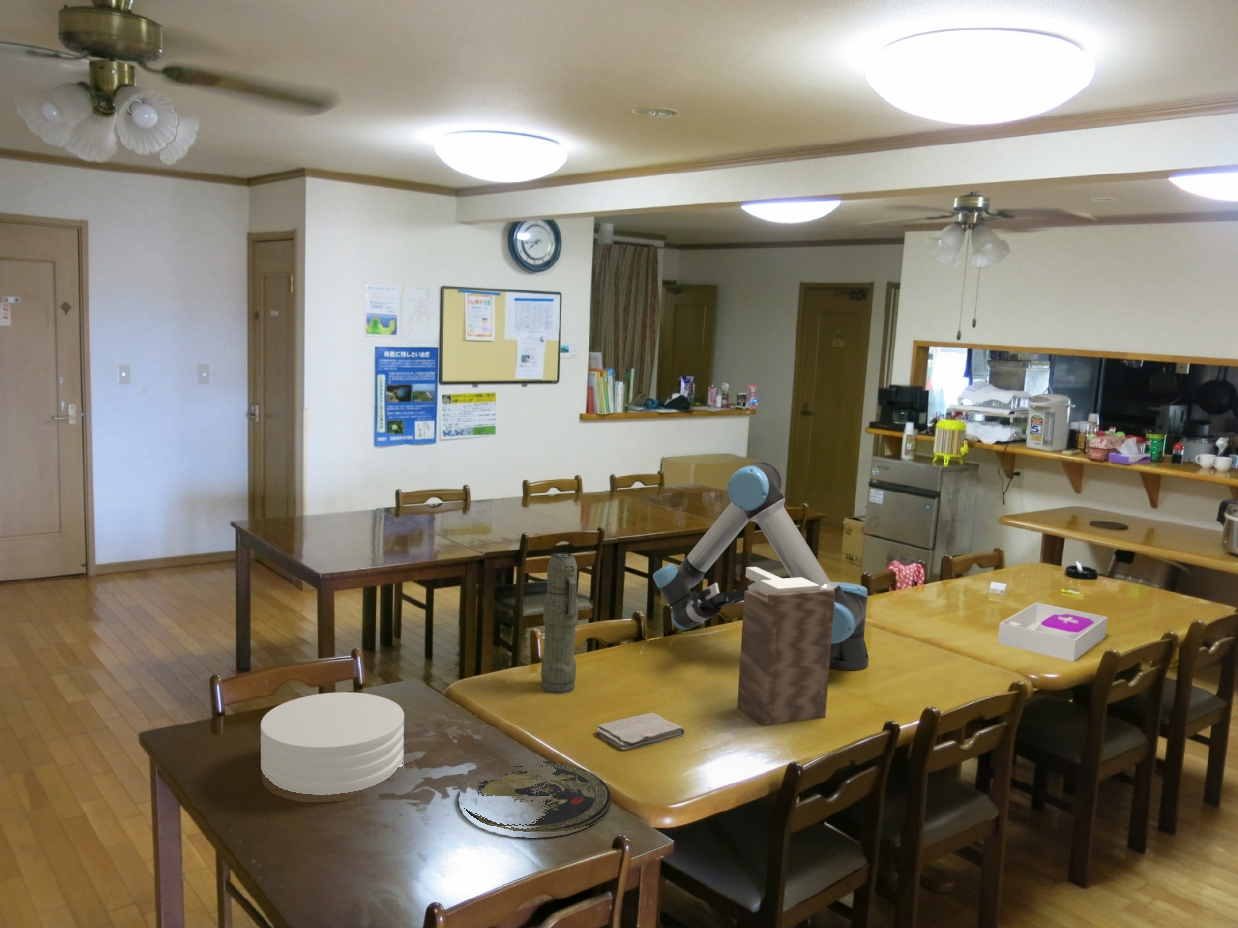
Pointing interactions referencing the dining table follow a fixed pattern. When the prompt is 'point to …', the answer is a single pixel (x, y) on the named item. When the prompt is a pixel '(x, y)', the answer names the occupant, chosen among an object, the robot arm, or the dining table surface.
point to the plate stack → (332, 743)
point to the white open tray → (1053, 631)
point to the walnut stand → (785, 655)
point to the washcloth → (639, 731)
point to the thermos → (560, 625)
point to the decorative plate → (554, 797)
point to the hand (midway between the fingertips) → (739, 586)
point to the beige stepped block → (779, 582)
